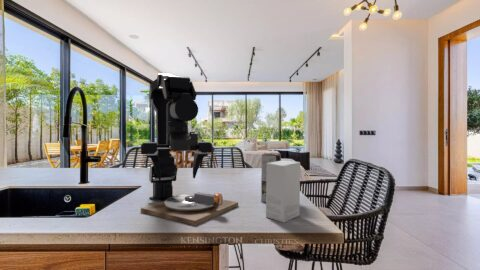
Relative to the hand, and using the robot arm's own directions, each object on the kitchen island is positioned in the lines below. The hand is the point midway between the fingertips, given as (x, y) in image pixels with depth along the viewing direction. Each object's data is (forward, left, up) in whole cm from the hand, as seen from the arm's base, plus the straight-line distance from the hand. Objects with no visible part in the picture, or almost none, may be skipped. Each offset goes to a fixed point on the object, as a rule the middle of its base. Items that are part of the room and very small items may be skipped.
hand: (177, 179), depth 74 cm
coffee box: (+13, +33, -11) cm, 37 cm away
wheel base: (-3, +9, -11) cm, 14 cm away
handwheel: (-1, +9, -9) cm, 13 cm away
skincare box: (+24, +17, -11) cm, 32 cm away
